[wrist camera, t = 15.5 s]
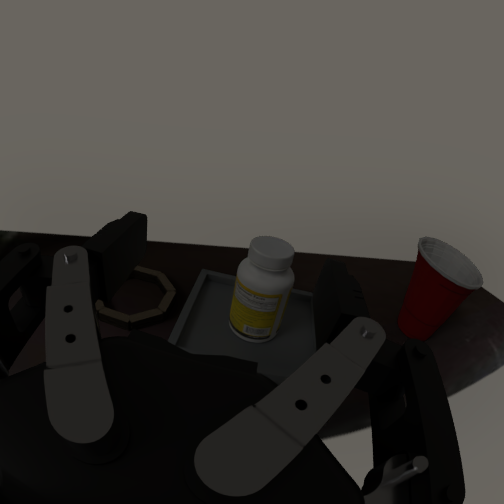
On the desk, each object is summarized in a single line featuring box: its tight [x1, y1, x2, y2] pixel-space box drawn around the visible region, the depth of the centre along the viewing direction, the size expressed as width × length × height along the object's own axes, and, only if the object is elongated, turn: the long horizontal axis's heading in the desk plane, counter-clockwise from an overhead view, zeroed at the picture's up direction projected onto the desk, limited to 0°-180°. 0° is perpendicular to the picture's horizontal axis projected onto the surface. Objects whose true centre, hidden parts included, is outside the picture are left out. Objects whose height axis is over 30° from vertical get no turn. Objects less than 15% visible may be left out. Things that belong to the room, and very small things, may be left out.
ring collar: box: [95, 266, 176, 331], centre depth 30 cm, size 10×10×1 cm
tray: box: [168, 269, 316, 385], centre depth 30 cm, size 15×14×2 cm
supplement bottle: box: [229, 236, 294, 343], centre depth 27 cm, size 5×5×10 cm
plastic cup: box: [397, 237, 483, 341], centre depth 31 cm, size 11×11×12 cm
